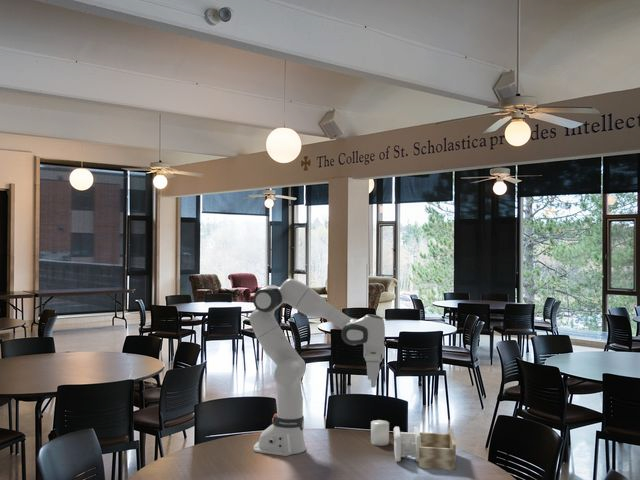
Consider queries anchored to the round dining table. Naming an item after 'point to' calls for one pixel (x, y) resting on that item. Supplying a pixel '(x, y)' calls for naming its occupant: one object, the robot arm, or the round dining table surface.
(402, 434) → the cable organizer
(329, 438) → the round dining table surface
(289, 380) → the robot arm
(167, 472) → the round dining table surface
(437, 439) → the bracket
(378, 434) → the mug
